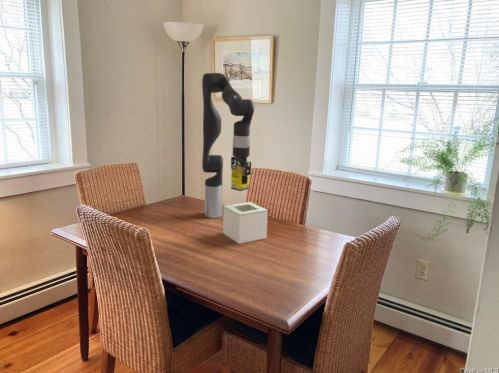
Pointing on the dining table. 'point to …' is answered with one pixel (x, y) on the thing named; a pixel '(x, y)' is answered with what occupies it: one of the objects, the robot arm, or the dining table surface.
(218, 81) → the robot arm
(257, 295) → the dining table surface
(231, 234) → the storage box
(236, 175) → the supplement box
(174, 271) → the dining table surface
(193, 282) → the dining table surface
